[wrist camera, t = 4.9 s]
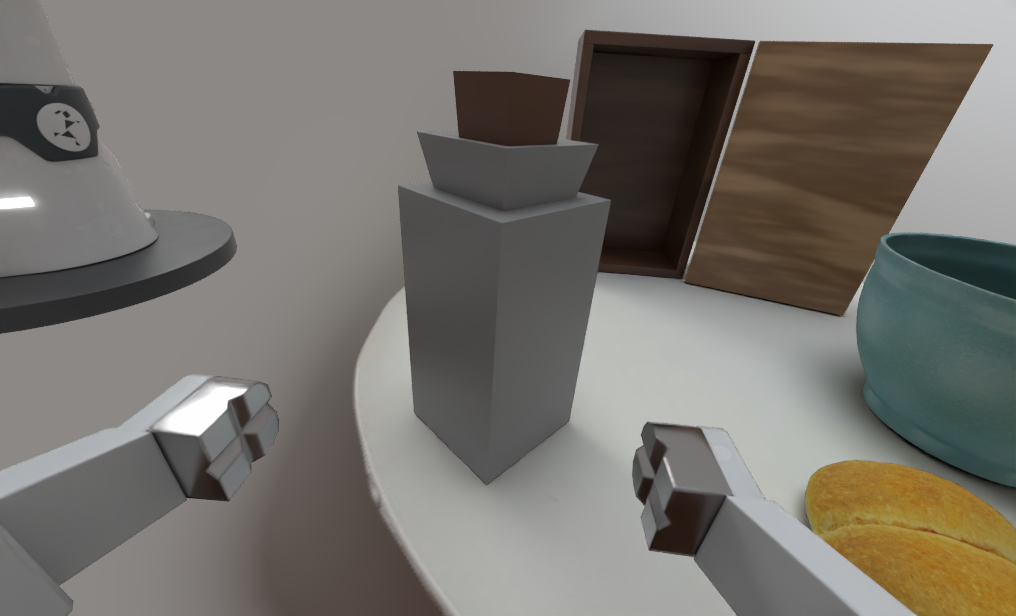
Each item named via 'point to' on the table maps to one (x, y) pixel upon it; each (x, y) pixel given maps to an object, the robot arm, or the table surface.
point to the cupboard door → (825, 164)
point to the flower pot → (944, 348)
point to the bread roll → (917, 537)
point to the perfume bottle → (500, 269)
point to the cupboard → (653, 138)
